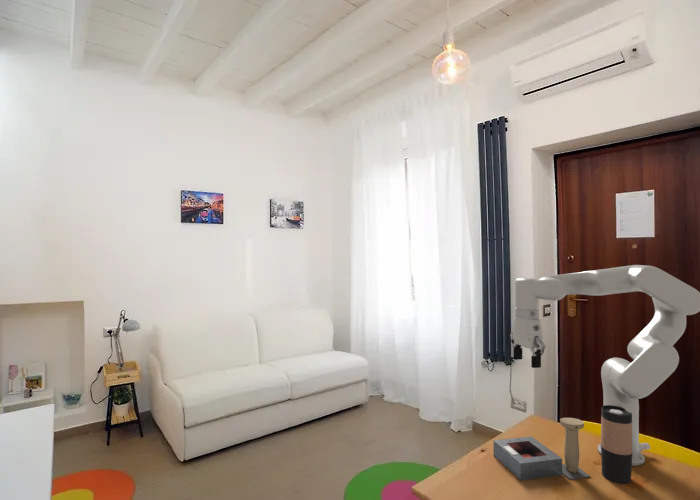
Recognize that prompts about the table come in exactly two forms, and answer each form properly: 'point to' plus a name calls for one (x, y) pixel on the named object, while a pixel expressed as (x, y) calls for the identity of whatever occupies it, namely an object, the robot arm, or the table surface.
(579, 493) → the table surface
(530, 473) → the grey shallow box
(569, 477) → the mat
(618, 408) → the travel mug
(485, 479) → the table surface
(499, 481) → the table surface
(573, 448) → the handle
